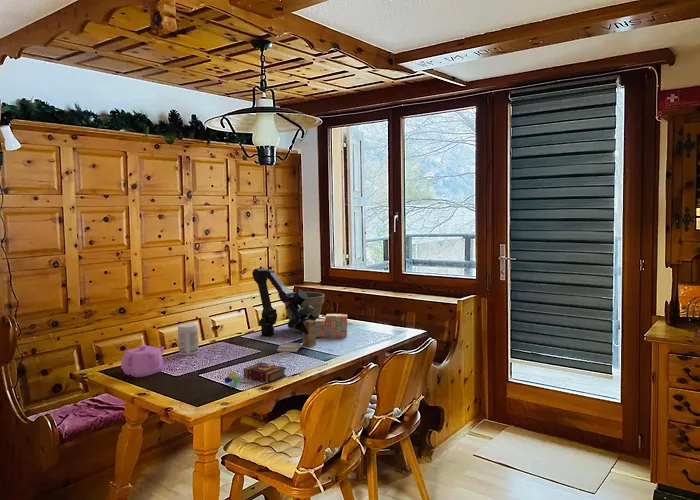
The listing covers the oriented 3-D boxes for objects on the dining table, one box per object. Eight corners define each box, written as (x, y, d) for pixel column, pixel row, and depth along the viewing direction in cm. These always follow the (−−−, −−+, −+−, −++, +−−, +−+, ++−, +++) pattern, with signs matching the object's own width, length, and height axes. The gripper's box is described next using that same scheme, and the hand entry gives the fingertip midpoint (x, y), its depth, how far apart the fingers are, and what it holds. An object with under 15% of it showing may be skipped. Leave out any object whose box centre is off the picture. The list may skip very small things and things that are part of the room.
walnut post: (302, 345, 291) (302, 321, 290) (309, 343, 294) (309, 319, 293) (309, 346, 287) (309, 322, 286) (315, 344, 291) (315, 321, 290)
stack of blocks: (309, 336, 310) (309, 315, 308) (311, 334, 316) (310, 313, 315) (346, 337, 308) (346, 316, 307) (347, 334, 314) (347, 313, 313)
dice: (224, 385, 226) (223, 370, 225) (228, 383, 228) (228, 368, 228) (237, 389, 221) (237, 373, 221) (242, 387, 224) (242, 372, 223)
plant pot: (307, 323, 344) (307, 289, 342) (332, 329, 326) (332, 294, 324) (275, 329, 327) (274, 294, 326) (299, 336, 309) (299, 299, 307)
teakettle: (120, 379, 234) (119, 351, 233) (126, 368, 251) (125, 341, 250) (161, 376, 238) (160, 349, 237) (165, 365, 255) (164, 339, 254)
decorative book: (269, 384, 228) (269, 372, 227) (241, 378, 236) (241, 366, 236) (286, 377, 237) (286, 366, 237) (258, 371, 246) (258, 360, 246)
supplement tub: (197, 350, 281) (196, 322, 280) (199, 354, 272) (198, 326, 271) (178, 351, 278) (177, 323, 276) (179, 356, 269) (178, 327, 267)
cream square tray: (277, 351, 279) (277, 347, 278) (282, 346, 289) (282, 342, 288) (296, 351, 278) (296, 347, 277) (300, 346, 287) (300, 343, 287)
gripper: (291, 303, 284) (306, 327, 278) (315, 298, 299) (330, 321, 293) (281, 316, 290) (295, 340, 284) (305, 311, 304) (320, 333, 298)
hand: (311, 333), depth 289 cm, fingers closed on walnut post, 5 cm apart
